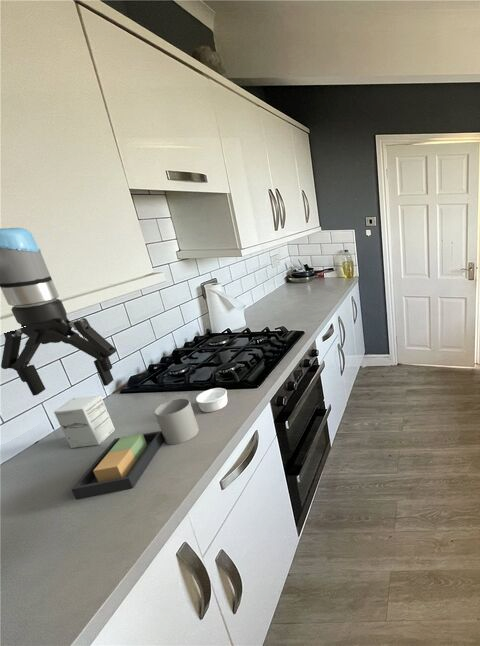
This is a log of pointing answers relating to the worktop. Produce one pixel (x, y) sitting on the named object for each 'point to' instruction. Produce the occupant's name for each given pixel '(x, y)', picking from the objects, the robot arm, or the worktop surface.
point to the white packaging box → (85, 421)
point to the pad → (131, 444)
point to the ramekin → (212, 399)
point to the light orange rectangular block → (115, 465)
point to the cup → (176, 421)
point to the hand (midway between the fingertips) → (74, 387)
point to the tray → (92, 487)
